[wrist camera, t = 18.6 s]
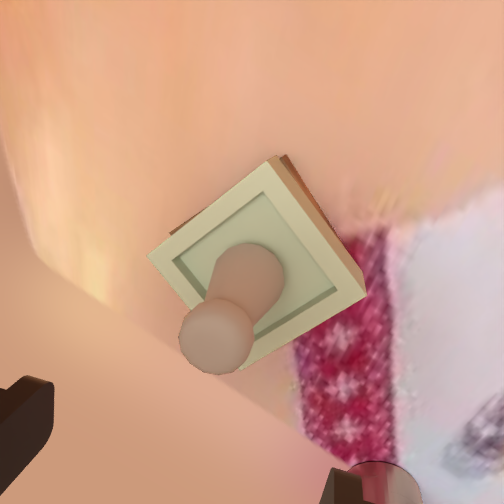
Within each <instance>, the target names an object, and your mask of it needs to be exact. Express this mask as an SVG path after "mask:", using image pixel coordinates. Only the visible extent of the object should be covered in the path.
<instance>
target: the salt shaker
mask: <svg viewBox="0 0 504 504" xmlns="http://www.w3.org/2000/svg"><path fill="white" fill-rule="evenodd" d="M284 286H285V284H284V275H283V267H282V266H281V264H280V262H279V261H278V259H277V258H276V256H275V255H274V254H273V253H272V252H270V251H269V250H267V249H265V248H264V247H262V246H261V245H255V244H248V243H243V244H239V245H236V246H233V247H230V248H228V249H227V250H226V251H225V252H224V253H223V254H222V255H221V256H220V257H219V258H217V259H216V263H215V266H214V270H213V273H212V276H211V280H210V283H209V287H208V290H207V293H206V297H205V300H204V302H202V303H199V304H198V305H197V306H196V307H195V308H193V309H192V310H191V311H190V312H189V313H188V314H187V315H186V316H185V317H184V320H183V323H182V326H181V330H180V333H179V337H178V338H179V343H180V348H181V352H182V353H183V355H184V356H185V357H186V359H187V360H188V361H189V363H190V364H192V365H193V366H195V367H196V368H198V369H199V370H201V371H202V372H205V373H210V374H215V375H222V374H227V373H231V372H234V371H235V370H236V369H237V368H239V367H240V366H241V365H242V364H243V363H244V362H245V361H246V360H247V358H248V356H249V354H250V351H251V348H252V346H253V343H254V339H255V338H254V332H253V327H254V326H255V324H256V323H257V322H258V321H259V320H260V319H261V318H262V317H263V316H264V315H265V314H266V313H267V312H268V311H269V310H270V308H271V307H272V306H273V305H274V304H275V303H276V302H277V301H278V300H279V298H280V296H281V293H282V291H283V288H284Z"/></svg>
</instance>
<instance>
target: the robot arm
mask: <svg viewBox="0 0 504 504" xmlns="http://www.w3.org/2000/svg"><path fill="white" fill-rule="evenodd" d="M53 423H54V385H53V383H52V382H49V381H45V380H42V379H38V378H35V377H32V376H28V375H27V376H23V377H22V378H20V379H19V380H18V381H17V382H15V383H14V384H13V385H12V386H11V387H9V388H8V389H7V390H5V389H2V388H0V495H1V494H2V493H3V492H4V491H5V490H6V489H7V487H8V486H9V485H10V484H11V483H12V482H13V481H14V480H15V478H16V477H17V476H18V475H19V474H20V473H21V472H22V471H23V470H24V468H25V467H26V466H27V465H28V464H29V463H30V462H31V461H32V459H33V458H34V457H35V456H36V455H37V454H38V452H39V451H40V450H41V449H42V448H43V447H44V445H45V444H46V442H47V441H48V439H49V437H50V435H51V432H52V429H53ZM319 504H423V501H422V497H421V493H420V490H419V487H418V484H417V483H416V481H415V480H414V478H413V477H412V476H411V475H410V474H409V473H407V472H406V471H404V470H403V469H401V468H399V467H397V466H395V465H392V464H388V463H384V462H366V463H362V464H359V465H356V466H354V467H352V468H351V469H350V470H348V471H347V472H346V471H343V470H340V469H336V468H332V469H331V470H330V473H329V476H328V479H327V482H326V485H325V488H324V491H323V494H322V497H321V500H320V503H319Z"/></svg>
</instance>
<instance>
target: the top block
mask: <svg viewBox="0 0 504 504" xmlns="http://www.w3.org/2000/svg"><path fill="white" fill-rule="evenodd" d="M243 243H248V244H255V245H261V246H262V247H264V248H265V249H267V250H269V251H270V252H272V253H273V254H274V255H275V256H276V258H277V259H278V261H279V262H280V264H281V266H282V267H283V275H284V284H285V286H284V288H283V291H282V293H281V296H280V298H279V300H278V301H277V302H276V303H275V304H274V305H273V306H272V307H271V308H270V310H269V311H268V312H267V313H266V314H265V315H264V316H263V317H262V318H261V319H260V320H259V321H258V322H257V323H256V324H255V326H254V327H253V332H254V338H255V339H254V343H253V346H252V348H251V351H250V354H249V356H248V358H247V360H246V361H245V362H244V363H243V364H242V365H241V366H240V367H239V368H238V369H239V370H240V371H241V370H243V369H245V368H246V367H248V366H250V365H251V364H253V363H255V362H256V361H258V360H260V359H261V358H263V357H265V356H266V355H268V354H270V353H271V352H273V351H275V350H277V349H278V348H280V347H282V346H283V345H285V344H287V343H288V342H290V341H292V340H293V339H295V338H297V337H298V336H300V335H302V334H303V333H305V332H307V331H309V330H310V329H312V328H314V327H315V326H317V325H319V324H320V323H322V322H324V321H325V320H327V319H329V318H330V317H332V316H334V315H335V314H337V313H339V312H341V311H342V310H344V309H346V308H347V307H349V306H351V305H352V304H354V303H356V302H357V301H359V300H361V299H362V298H364V297H366V296H367V293H366V288H365V282H364V277H363V272H362V271H361V269H360V268H359V266H358V265H357V264H356V262H355V261H354V260H353V258H352V257H351V256H350V254H349V253H348V252H347V250H346V249H345V248H344V246H343V245H342V243H341V242H340V241H339V239H338V238H337V237H336V235H335V234H334V233H333V231H332V230H331V229H330V227H329V226H328V224H327V223H326V222H325V220H324V219H323V218H322V216H321V215H320V214H319V212H318V211H317V210H316V208H315V207H314V205H313V204H312V203H311V201H310V200H309V199H308V197H307V196H306V195H305V193H304V192H303V191H302V189H301V188H300V187H299V185H298V184H297V182H296V181H295V180H294V178H293V177H292V176H291V174H290V173H289V172H288V170H287V169H286V168H285V166H284V165H283V163H282V162H281V161H280V159H279V158H278V157H277V155H276V156H274V157H272V158H270V159H269V160H267V161H265V162H264V163H263V164H262V165H260V166H259V167H258V168H257V169H255V170H254V171H253V172H252V173H250V174H249V175H248V176H246V177H245V178H244V179H243V180H241V181H240V182H239V183H238V184H236V185H235V186H234V187H233V188H231V189H230V190H229V191H227V192H226V193H225V194H224V195H222V196H221V197H220V198H219V199H217V200H216V201H215V202H214V203H212V204H211V205H210V206H208V207H207V208H206V209H205V210H203V211H202V212H201V213H200V214H198V215H197V216H196V217H195V218H193V219H192V220H191V221H189V222H188V223H187V224H186V225H184V226H183V227H182V228H181V229H179V230H178V231H177V232H176V233H174V234H173V235H172V236H170V237H169V238H168V239H167V240H165V241H164V242H163V243H162V244H160V245H159V246H158V247H157V248H155V249H154V250H153V251H151V252H150V253H149V254H148V255H146V256H147V258H148V259H149V260H150V261H151V263H152V264H153V265H154V266H155V268H156V269H157V270H158V271H159V272H160V274H161V275H162V276H163V277H164V279H165V280H166V281H167V282H168V283H169V285H170V286H171V287H172V288H173V290H174V291H175V292H176V293H177V294H178V296H179V297H180V298H181V299H182V301H183V302H184V303H185V304H186V305H187V307H188V308H189V309H190V310H192V309H193V308H195V307H196V306H197V305H198V304H199V303H202V302H204V300H205V297H206V293H207V290H208V287H209V283H210V280H211V276H212V273H213V270H214V266H215V263H216V259H217V258H219V257H220V256H221V255H222V254H223V253H224V252H225V251H226V250H227V249H228V248H230V247H233V246H236V245H239V244H243Z"/></svg>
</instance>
